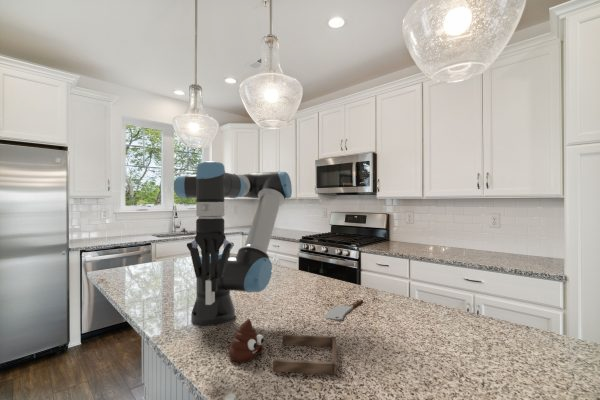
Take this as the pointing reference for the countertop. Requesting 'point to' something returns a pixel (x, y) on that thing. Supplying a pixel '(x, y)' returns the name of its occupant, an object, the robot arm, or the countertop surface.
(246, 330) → the poop emoji
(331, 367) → the walnut corral
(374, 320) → the countertop surface
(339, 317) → the kitchen cleaver
